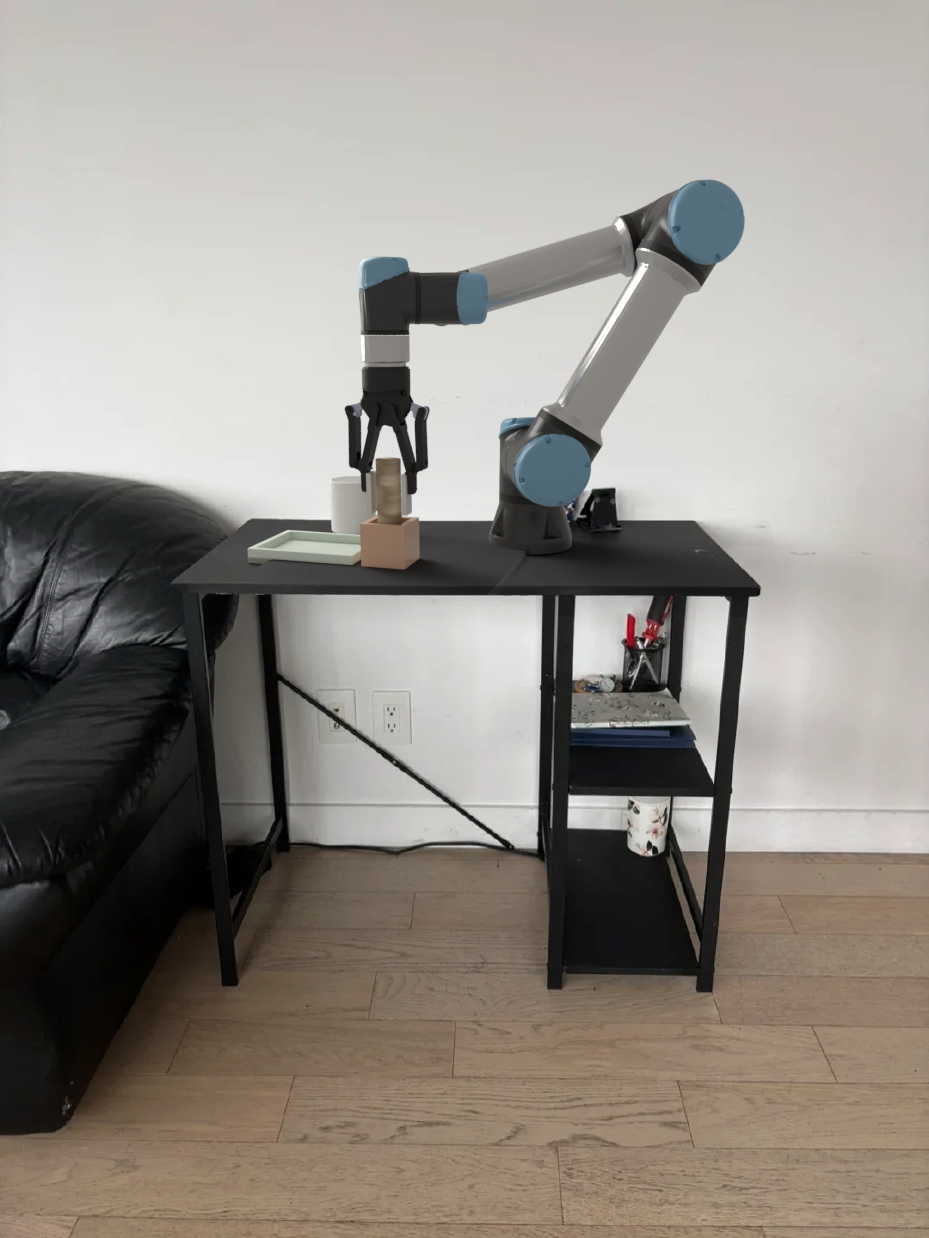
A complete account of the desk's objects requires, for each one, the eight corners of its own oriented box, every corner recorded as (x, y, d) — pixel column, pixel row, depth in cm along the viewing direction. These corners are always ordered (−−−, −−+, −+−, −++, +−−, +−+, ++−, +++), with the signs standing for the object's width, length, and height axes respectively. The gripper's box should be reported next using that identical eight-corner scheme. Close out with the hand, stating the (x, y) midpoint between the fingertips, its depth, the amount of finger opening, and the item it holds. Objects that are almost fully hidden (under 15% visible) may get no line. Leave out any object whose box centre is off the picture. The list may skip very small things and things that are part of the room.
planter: (419, 563, 148) (418, 517, 146) (404, 575, 141) (403, 526, 139) (378, 560, 150) (376, 514, 148) (361, 571, 143) (359, 523, 141)
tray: (384, 549, 158) (384, 536, 157) (352, 570, 144) (351, 556, 143) (288, 543, 163) (287, 530, 162) (248, 562, 149) (247, 548, 148)
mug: (385, 541, 164) (384, 484, 161) (325, 538, 167) (322, 482, 164) (398, 531, 172) (397, 477, 169) (341, 528, 175) (338, 474, 171)
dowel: (406, 559, 147) (404, 457, 142) (398, 565, 143) (395, 461, 138) (383, 558, 148) (380, 456, 143) (375, 564, 144) (371, 460, 139)
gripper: (449, 364, 137) (450, 511, 144) (340, 363, 141) (346, 505, 149) (434, 366, 130) (436, 520, 137) (321, 365, 135) (328, 514, 142)
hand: (389, 512), depth 143 cm, fingers open, 5 cm apart
